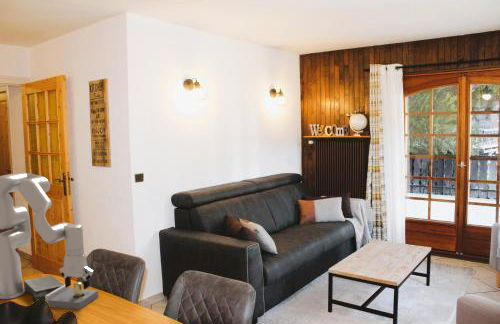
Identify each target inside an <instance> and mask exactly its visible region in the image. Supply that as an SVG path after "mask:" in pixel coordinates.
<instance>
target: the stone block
mask: <svg viewBox="0 0 500 324" xmlns="http://www.w3.org/2000/svg"><path fill="white" fill-rule="evenodd" d="M63 285H64V284H63V283H62V282H61V281H59V279H57V278H55V277H54V276H53V275H52V274H51V275H47V276H46V275H45V276H40V277H36V278H30V279H24V280H23V287H24V289H25V290H26V293H27V294H28V295H29V296H30V297H32V299H33V300H35V301H38V300H37V299H40V300H43V299H45V296H46V295H47V294H49V293H51V292H53V291H54V290H56V289H58V288H59V287H61V286H63Z"/></svg>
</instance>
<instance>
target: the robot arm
mask: <svg viewBox="0 0 500 324" xmlns="http://www.w3.org/2000/svg"><path fill="white" fill-rule="evenodd" d="M50 189H51V183H50V181H49V179H47V178H46V177H44V176H42V175H38V174H35V173H29V172H24V171H23V172H17V173H9V174H5V175H0V230H6V231H2V232H0V299H1V300H11V299H14V298H15V299H16V298H18V297H21V296H23V295H25V294H26V293H27V292H26V290H25V289H24V283H23V274H22V273H23V272H22V264H21V256H20V254H19V253H18V251H16V249H18V248H21V247H23V246H26V245H27V244H29V243H30V242H31V239H32V227H31V219H30V213H29V211H28V209H27V208H26V207H24V206H21V205H16V206H15V205H14V199H13V197H12V196H11V194H10V193H13V192H18V191H19V193H20V194H21V196H22V197H23V198H24V199H25V201H26V202H27V204H28V205H29V206H30V208H31V210H32V212H33V213H34V214H33V224H34V227H35V228H34V229H35V230H36V232H37V234H38V235H39V236H40V238H41V239H42V240H43V241H44V242H45V243H48V244H54V243H55V244H56V243H58V242H60V241H62V240H65V248H64V252H66V253H65V254H64V257H63V267H60V268H58V269H59V272H60V274H61V276H62V277H63V280H64V285H65V287H70V286H71V285H72V278H82V280H83V281H82V289H86V290H88V288H90V287H89V286H90V280H91V278H92V276H93V274H94V270H93V269H91V268H90V267H89V265H88V261H87V256H86V254H85V249H84V248H85V247H84V229H83V225H81V224H80V223H79V224H77V223H76V224H72V223H70V222H59V223H57V224H54V225H51V224H50V223H49V222H48V220H47V217H46V212H47V211H48V210H49V209H50V208H51V207H52V205H53V203H52V200H51V199H50V198H49V197H48V195H47V194H46V193H48V192H49V191H50ZM11 228H12V229H11ZM7 229H8V230H7ZM71 277H72V278H71Z"/></svg>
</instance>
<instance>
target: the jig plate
mask: <svg viewBox="0 0 500 324" xmlns="http://www.w3.org/2000/svg"><path fill="white" fill-rule="evenodd" d="M69 287H70V286H68V287H65V284H63V286H61V287H59V288H58V289H56V290H54V291H53V292H51V293H49V294H47V295H46V296H45V298H44V299H45V300H44V301H45V302H46V301H47V302H48V304H49V305H50V308H51V307H52V308H61V309H74V310H82V309H83V308H85V307H86V306H87V305H89V304H90V303H91V302H93V301H94V300H96V299H97V298H98V297H99V296H100V295H99V290H97V289H84V288H82V289H83V297H80V298H75V294H74V287H73V288H69Z"/></svg>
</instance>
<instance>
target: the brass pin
mask: <svg viewBox="0 0 500 324" xmlns="http://www.w3.org/2000/svg"><path fill="white" fill-rule="evenodd" d="M73 289H74V294H75V298H80V297H83V289H84V288H83V281H76V282H74V283H73Z"/></svg>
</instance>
